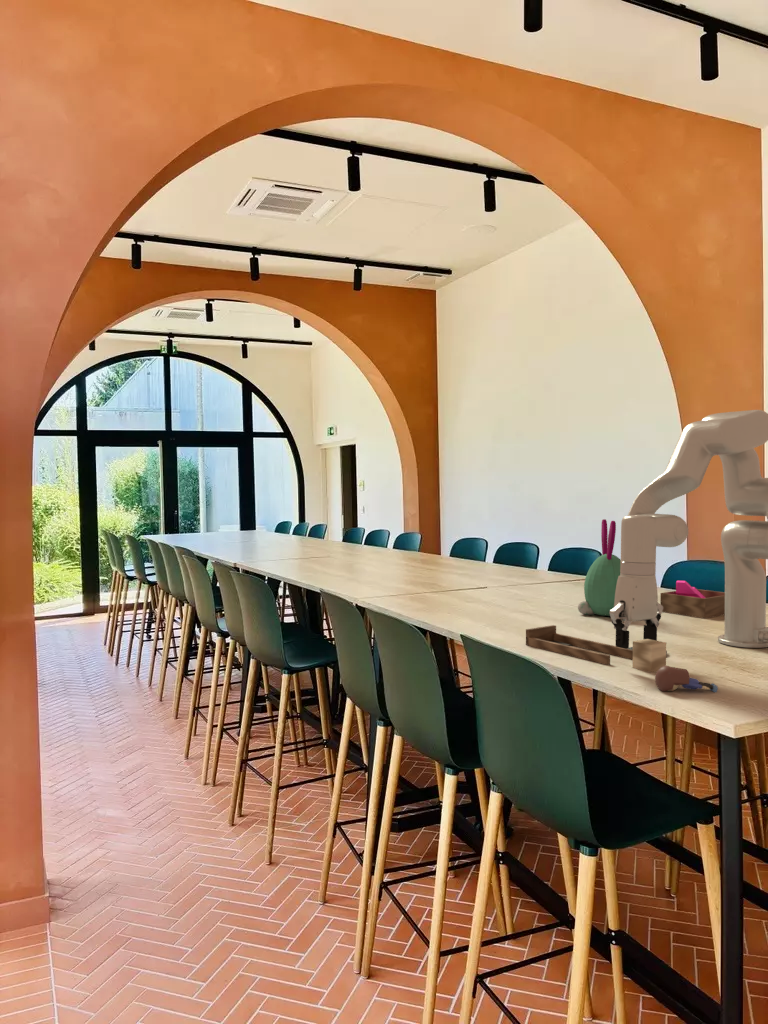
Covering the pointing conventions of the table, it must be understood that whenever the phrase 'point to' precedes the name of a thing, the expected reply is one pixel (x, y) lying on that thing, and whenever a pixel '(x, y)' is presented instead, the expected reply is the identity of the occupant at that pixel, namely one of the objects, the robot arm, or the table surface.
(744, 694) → the table surface
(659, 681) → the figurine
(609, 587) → the toy
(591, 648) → the channel
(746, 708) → the table surface
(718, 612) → the display box
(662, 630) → the table surface
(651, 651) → the block
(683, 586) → the bracket
